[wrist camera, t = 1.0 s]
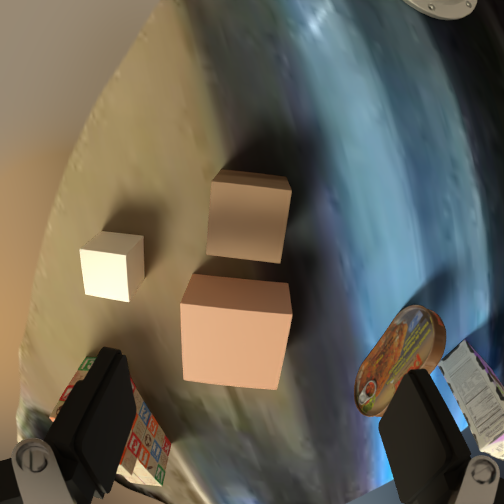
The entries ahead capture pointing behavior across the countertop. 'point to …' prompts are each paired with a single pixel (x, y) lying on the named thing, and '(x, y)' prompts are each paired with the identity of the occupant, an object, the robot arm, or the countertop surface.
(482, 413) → the candy box
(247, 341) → the terracotta block
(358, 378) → the tin
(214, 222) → the walnut cube
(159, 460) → the stack of blocks
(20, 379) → the countertop surface
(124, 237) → the off-white cube
